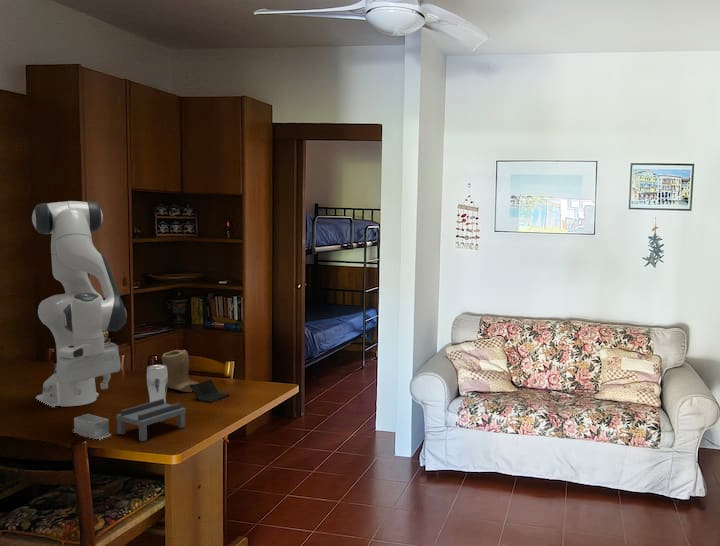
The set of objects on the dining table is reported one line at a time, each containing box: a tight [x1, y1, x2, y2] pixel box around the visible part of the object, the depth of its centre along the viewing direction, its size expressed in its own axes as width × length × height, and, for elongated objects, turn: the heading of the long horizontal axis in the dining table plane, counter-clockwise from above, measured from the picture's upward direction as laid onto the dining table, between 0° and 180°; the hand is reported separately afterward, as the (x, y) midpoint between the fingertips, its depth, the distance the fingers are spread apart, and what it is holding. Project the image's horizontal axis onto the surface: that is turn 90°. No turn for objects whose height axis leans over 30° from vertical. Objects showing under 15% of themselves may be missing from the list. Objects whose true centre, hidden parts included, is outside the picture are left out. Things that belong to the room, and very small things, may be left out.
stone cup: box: [161, 349, 199, 393], centre depth 267 cm, size 15×12×15 cm
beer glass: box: [146, 364, 169, 404], centre depth 240 cm, size 7×7×15 cm
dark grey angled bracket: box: [191, 379, 230, 404], centre depth 256 cm, size 12×7×10 cm
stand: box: [115, 399, 187, 442], centre depth 219 cm, size 12×17×8 cm
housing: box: [72, 413, 112, 441], centre depth 215 cm, size 13×5×5 cm, turn 56°
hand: (90, 392), depth 213 cm, fingers open, 8 cm apart
